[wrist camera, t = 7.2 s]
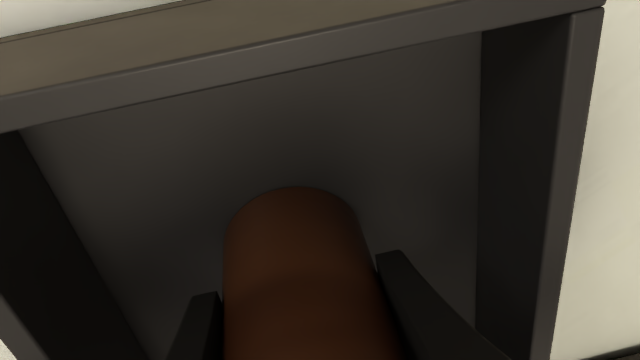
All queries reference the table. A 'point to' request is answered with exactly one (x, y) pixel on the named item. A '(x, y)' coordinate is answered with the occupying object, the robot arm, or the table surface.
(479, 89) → the black bin
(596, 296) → the table surface
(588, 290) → the table surface
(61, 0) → the table surface
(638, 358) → the smartphone
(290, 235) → the pepper mill
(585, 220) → the table surface
